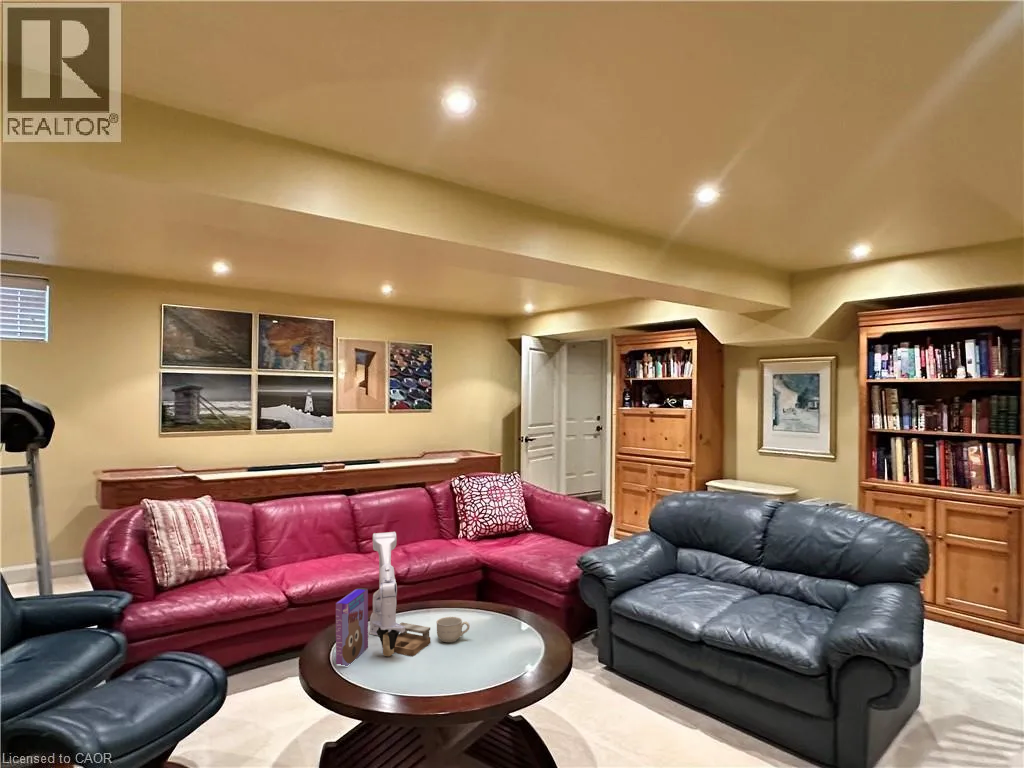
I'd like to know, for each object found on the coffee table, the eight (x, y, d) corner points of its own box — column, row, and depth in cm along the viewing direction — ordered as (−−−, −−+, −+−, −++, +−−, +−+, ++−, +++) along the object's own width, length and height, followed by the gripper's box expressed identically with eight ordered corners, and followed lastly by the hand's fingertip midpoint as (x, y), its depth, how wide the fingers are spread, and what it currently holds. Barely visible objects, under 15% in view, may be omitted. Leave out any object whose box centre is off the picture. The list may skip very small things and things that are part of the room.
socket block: (383, 650, 231) (383, 634, 231) (402, 637, 243) (401, 622, 243) (412, 656, 226) (412, 639, 226) (430, 643, 238) (430, 627, 238)
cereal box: (347, 667, 217) (347, 603, 218) (336, 666, 218) (335, 602, 219) (368, 647, 234) (367, 588, 235) (357, 646, 235) (357, 587, 236)
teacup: (432, 643, 238) (431, 623, 238) (443, 632, 248) (443, 614, 248) (463, 647, 233) (462, 627, 234) (473, 636, 244) (473, 617, 244)
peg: (383, 655, 225) (382, 634, 226) (387, 651, 228) (387, 631, 228) (389, 656, 224) (389, 635, 224) (393, 653, 227) (393, 632, 227)
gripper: (366, 614, 226) (367, 648, 226) (397, 619, 220) (398, 655, 220) (377, 607, 232) (378, 641, 232) (408, 613, 226) (408, 647, 226)
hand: (388, 647), depth 226 cm, fingers closed on peg, 3 cm apart
